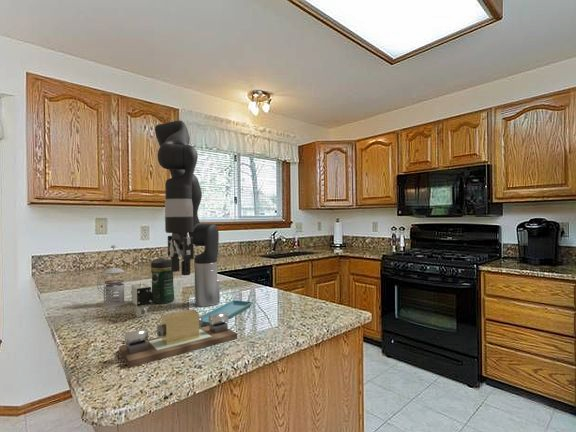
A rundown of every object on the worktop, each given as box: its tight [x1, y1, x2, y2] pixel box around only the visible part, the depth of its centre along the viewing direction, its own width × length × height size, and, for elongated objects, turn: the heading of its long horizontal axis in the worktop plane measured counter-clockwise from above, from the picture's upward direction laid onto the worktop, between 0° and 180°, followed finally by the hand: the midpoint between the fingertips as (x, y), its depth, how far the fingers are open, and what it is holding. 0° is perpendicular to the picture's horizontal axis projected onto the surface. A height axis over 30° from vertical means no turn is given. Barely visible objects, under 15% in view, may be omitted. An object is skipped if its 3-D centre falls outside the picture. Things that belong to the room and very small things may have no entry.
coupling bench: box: [118, 312, 238, 368], centre depth 92 cm, size 29×12×6 cm, turn 127°
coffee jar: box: [150, 258, 175, 304], centre depth 141 cm, size 10×8×19 cm
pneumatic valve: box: [130, 282, 153, 318], centre depth 121 cm, size 6×12×12 cm, turn 38°
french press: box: [96, 244, 128, 308], centre depth 138 cm, size 10×12×25 cm
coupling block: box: [156, 309, 204, 345], centre depth 91 cm, size 12×4×7 cm, turn 127°
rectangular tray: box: [199, 300, 253, 327], centre depth 119 cm, size 26×9×2 cm, turn 159°
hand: (180, 273), depth 92 cm, fingers open, 8 cm apart
